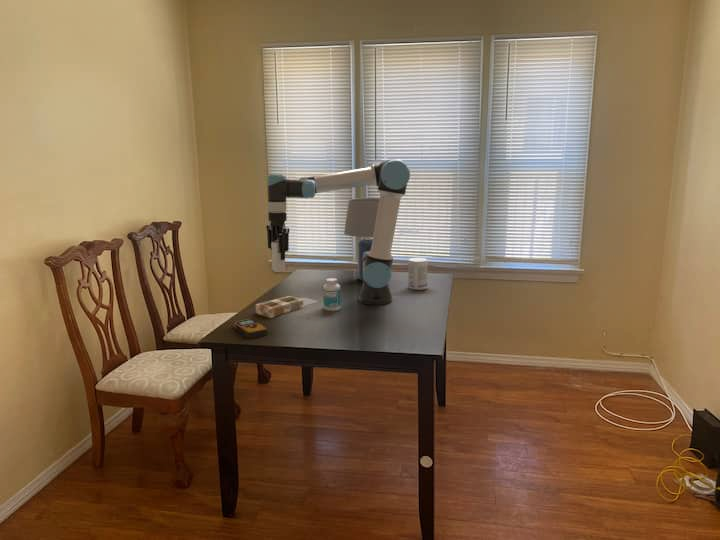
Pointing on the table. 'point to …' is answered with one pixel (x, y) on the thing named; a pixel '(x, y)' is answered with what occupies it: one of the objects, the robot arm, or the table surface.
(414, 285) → the supplement tub
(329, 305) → the pill bottle
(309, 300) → the mat
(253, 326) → the electronic device
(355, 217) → the lamp
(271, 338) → the table surface
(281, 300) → the socket block
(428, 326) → the table surface
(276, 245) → the plug
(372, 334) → the table surface
